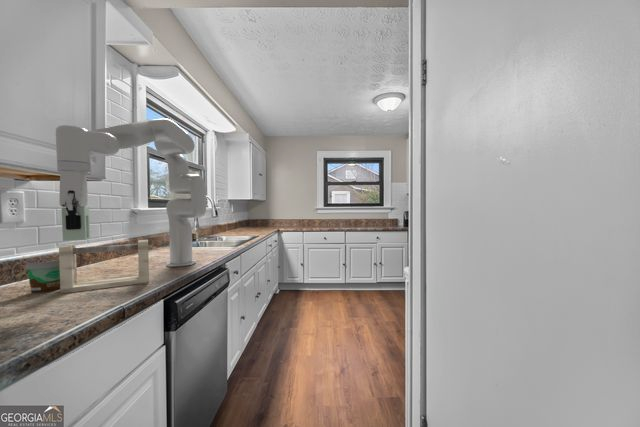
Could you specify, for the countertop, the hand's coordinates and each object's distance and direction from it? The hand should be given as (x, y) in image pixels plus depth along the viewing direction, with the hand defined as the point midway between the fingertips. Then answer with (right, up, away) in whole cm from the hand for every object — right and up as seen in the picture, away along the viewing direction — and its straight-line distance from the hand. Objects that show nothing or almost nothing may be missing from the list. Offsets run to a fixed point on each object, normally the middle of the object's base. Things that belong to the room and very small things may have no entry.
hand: (76, 227), depth 83 cm
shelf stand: (-1, -21, +14) cm, 25 cm away
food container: (-17, -21, +10) cm, 29 cm away
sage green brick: (0, -3, 0) cm, 3 cm away
